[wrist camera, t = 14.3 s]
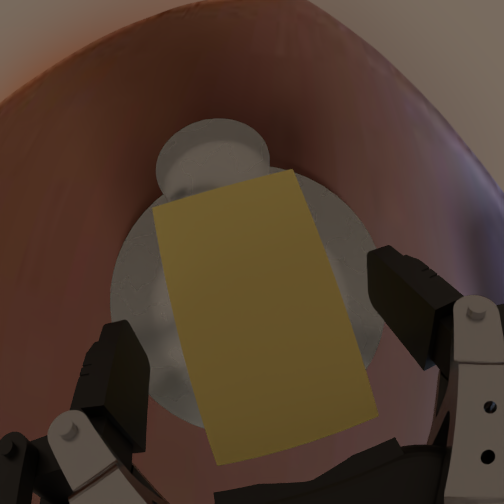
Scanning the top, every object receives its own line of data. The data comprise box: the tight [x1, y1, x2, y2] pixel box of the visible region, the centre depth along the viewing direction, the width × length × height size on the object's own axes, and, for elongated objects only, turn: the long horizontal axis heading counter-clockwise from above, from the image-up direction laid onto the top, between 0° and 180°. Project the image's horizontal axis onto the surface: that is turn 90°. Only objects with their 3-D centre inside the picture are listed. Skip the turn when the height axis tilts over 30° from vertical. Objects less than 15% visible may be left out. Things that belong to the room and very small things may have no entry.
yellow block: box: [152, 169, 379, 466], centre depth 11 cm, size 5×3×12 cm, turn 16°
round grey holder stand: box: [110, 118, 385, 429], centre depth 15 cm, size 16×16×9 cm
